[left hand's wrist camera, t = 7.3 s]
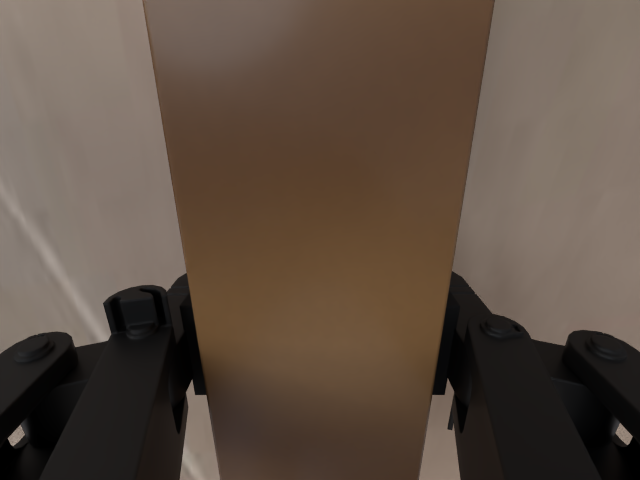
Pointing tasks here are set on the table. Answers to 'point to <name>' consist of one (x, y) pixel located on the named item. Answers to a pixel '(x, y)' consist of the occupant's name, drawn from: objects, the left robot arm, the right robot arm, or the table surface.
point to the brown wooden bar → (319, 217)
